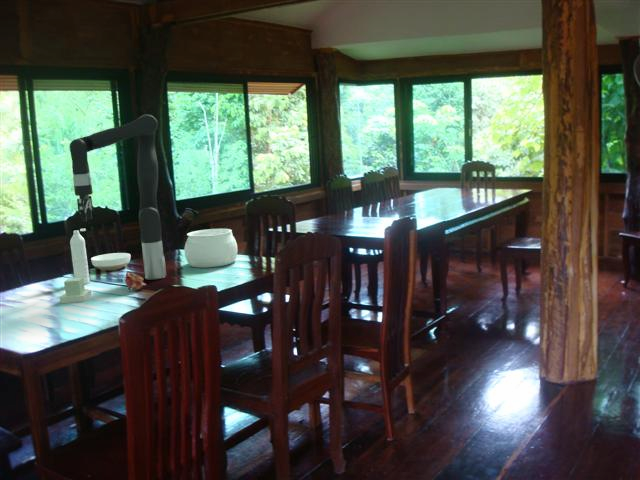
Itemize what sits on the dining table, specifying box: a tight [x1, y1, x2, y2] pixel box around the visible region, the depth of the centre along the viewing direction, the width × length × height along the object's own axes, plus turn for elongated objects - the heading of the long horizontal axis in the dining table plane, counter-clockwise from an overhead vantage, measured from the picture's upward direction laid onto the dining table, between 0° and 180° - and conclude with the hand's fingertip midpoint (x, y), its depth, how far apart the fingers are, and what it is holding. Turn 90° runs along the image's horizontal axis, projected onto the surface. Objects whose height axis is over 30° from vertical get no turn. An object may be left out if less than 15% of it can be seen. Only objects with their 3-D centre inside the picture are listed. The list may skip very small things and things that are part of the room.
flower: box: [124, 271, 147, 292], centre depth 297 cm, size 10×9×8 cm
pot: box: [184, 228, 238, 269], centre depth 345 cm, size 29×26×16 cm
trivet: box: [59, 289, 93, 304], centre depth 287 cm, size 10×10×2 cm
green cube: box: [63, 277, 86, 296], centre depth 286 cm, size 6×6×6 cm
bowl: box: [90, 252, 132, 271], centre depth 350 cm, size 20×20×6 cm
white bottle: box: [69, 228, 91, 285], centre depth 317 cm, size 9×6×25 cm
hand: (87, 220), depth 307 cm, fingers open, 8 cm apart
